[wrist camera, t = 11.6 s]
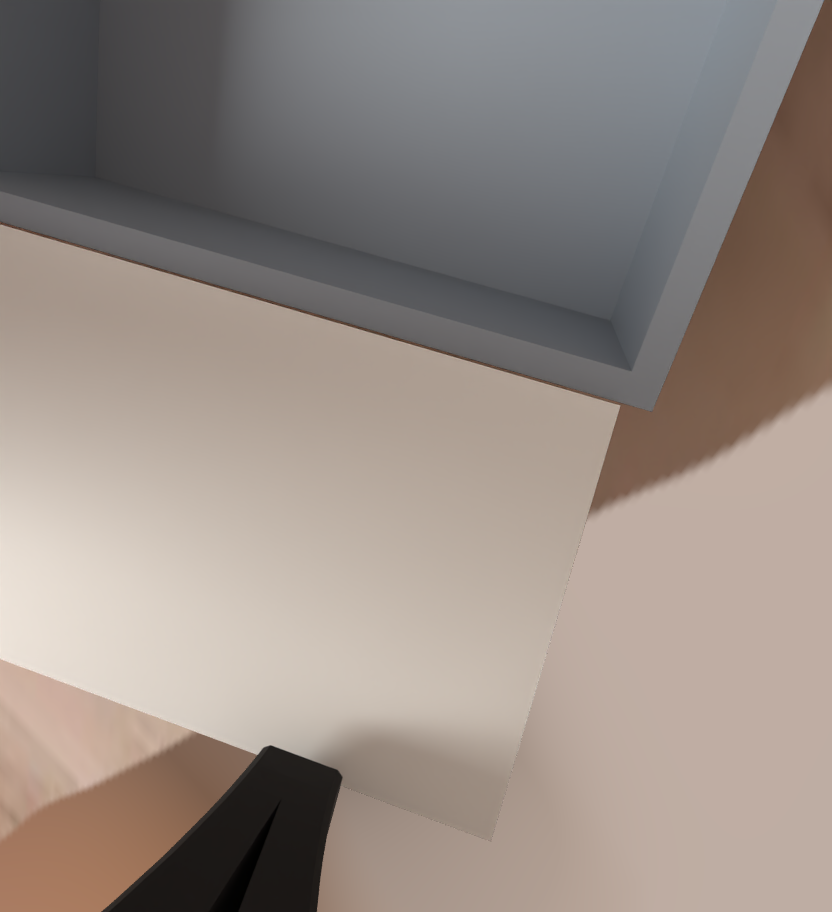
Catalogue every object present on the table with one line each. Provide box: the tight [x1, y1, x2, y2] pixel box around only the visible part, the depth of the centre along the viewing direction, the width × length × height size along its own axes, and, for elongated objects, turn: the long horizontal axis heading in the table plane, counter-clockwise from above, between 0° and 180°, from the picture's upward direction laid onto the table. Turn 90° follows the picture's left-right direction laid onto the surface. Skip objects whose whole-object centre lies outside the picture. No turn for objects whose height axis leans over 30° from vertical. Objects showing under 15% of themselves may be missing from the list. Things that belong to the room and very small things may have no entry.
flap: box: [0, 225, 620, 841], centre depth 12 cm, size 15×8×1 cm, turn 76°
